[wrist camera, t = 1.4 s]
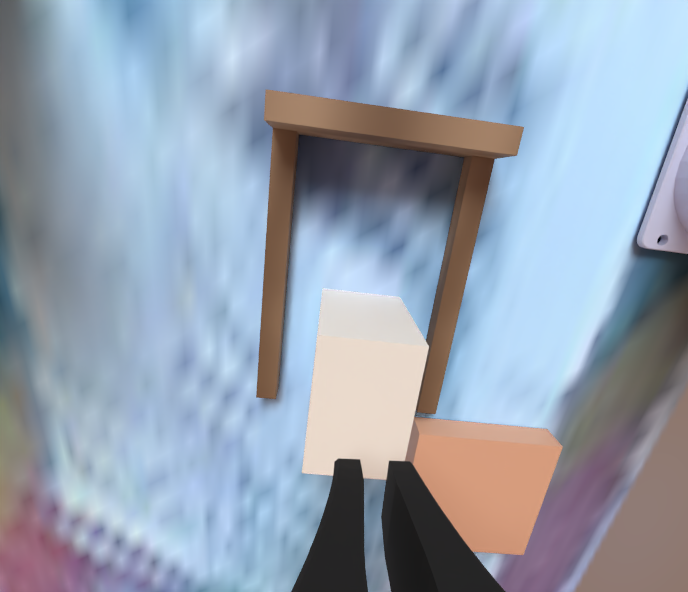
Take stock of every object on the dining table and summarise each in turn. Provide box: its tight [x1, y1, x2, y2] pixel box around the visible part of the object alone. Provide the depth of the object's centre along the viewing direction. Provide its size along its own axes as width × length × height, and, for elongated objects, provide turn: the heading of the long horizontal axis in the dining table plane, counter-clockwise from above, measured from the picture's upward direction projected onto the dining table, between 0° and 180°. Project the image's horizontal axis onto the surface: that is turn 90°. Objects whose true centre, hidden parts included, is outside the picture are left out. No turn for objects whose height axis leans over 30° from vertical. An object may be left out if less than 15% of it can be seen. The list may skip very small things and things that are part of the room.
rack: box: [256, 90, 524, 414], centre depth 17 cm, size 10×14×3 cm
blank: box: [302, 288, 429, 480], centre depth 17 cm, size 4×6×6 cm, turn 173°
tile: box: [405, 417, 562, 555], centre depth 21 cm, size 8×8×2 cm
